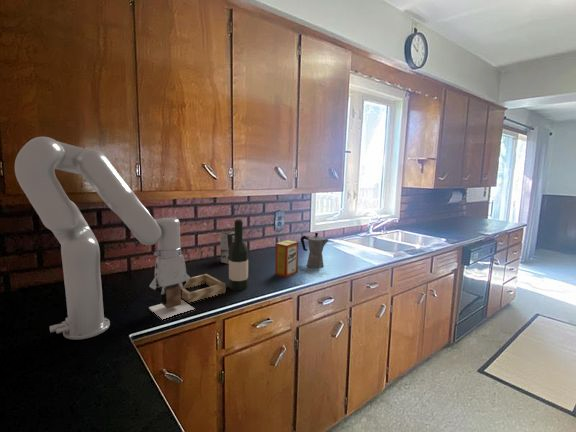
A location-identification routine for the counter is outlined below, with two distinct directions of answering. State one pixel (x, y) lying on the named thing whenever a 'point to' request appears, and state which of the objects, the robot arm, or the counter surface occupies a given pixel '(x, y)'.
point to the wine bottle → (238, 260)
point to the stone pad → (170, 310)
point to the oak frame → (215, 288)
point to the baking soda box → (286, 258)
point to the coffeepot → (314, 250)
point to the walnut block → (172, 296)
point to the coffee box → (226, 245)
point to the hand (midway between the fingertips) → (171, 300)
